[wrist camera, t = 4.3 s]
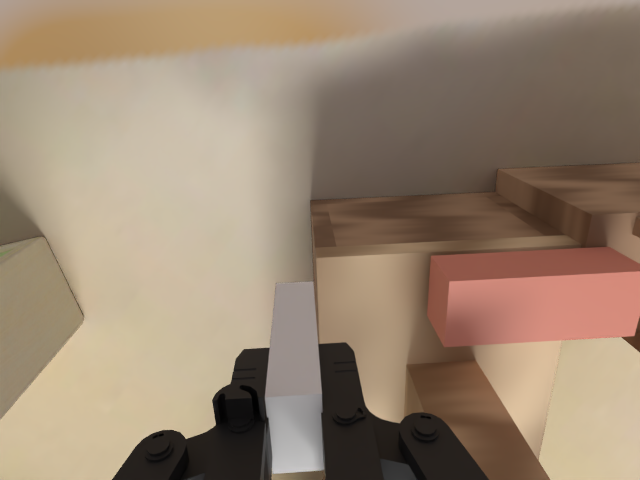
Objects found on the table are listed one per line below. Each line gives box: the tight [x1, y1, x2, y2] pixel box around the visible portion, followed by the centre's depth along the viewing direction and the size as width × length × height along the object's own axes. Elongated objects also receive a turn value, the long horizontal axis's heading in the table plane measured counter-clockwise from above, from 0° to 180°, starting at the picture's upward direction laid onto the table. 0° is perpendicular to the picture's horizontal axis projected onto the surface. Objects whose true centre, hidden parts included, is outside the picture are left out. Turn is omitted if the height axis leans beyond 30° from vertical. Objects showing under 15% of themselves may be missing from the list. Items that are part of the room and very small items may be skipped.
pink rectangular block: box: [427, 247, 640, 347], centre depth 19 cm, size 8×3×2 cm, turn 92°
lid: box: [315, 235, 582, 480], centre depth 19 cm, size 12×18×10 cm, turn 2°
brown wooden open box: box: [310, 163, 640, 480], centre depth 26 cm, size 24×20×12 cm
